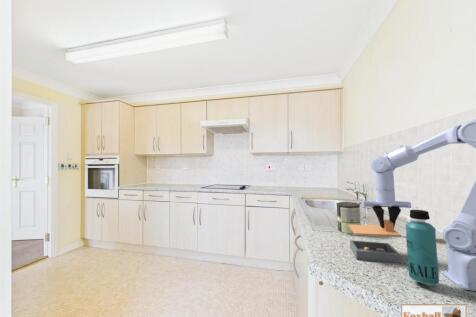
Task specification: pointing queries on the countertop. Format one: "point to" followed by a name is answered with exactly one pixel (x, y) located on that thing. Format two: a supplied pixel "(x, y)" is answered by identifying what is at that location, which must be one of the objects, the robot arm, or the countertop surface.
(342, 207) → the coffee can
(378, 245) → the parts tub
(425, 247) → the beverage bottle
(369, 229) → the tub lid
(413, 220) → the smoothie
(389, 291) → the countertop surface
